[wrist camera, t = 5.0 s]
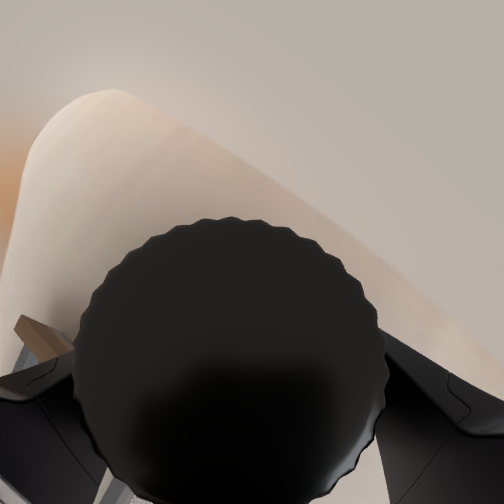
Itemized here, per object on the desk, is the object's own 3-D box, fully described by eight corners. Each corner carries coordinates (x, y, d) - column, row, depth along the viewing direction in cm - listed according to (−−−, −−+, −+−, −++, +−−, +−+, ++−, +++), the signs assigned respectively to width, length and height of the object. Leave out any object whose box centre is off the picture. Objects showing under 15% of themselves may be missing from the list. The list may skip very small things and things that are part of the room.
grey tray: (100, 548, 10) (69, 566, 6) (5, 453, 12) (-30, 453, 9) (175, 423, 14) (146, 430, 11) (58, 330, 17) (21, 314, 14)
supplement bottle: (308, 310, 16) (355, 135, 5) (345, 427, 13) (496, 480, 2) (186, 343, 16) (34, 228, 5) (216, 461, 12) (82, 567, 2)
